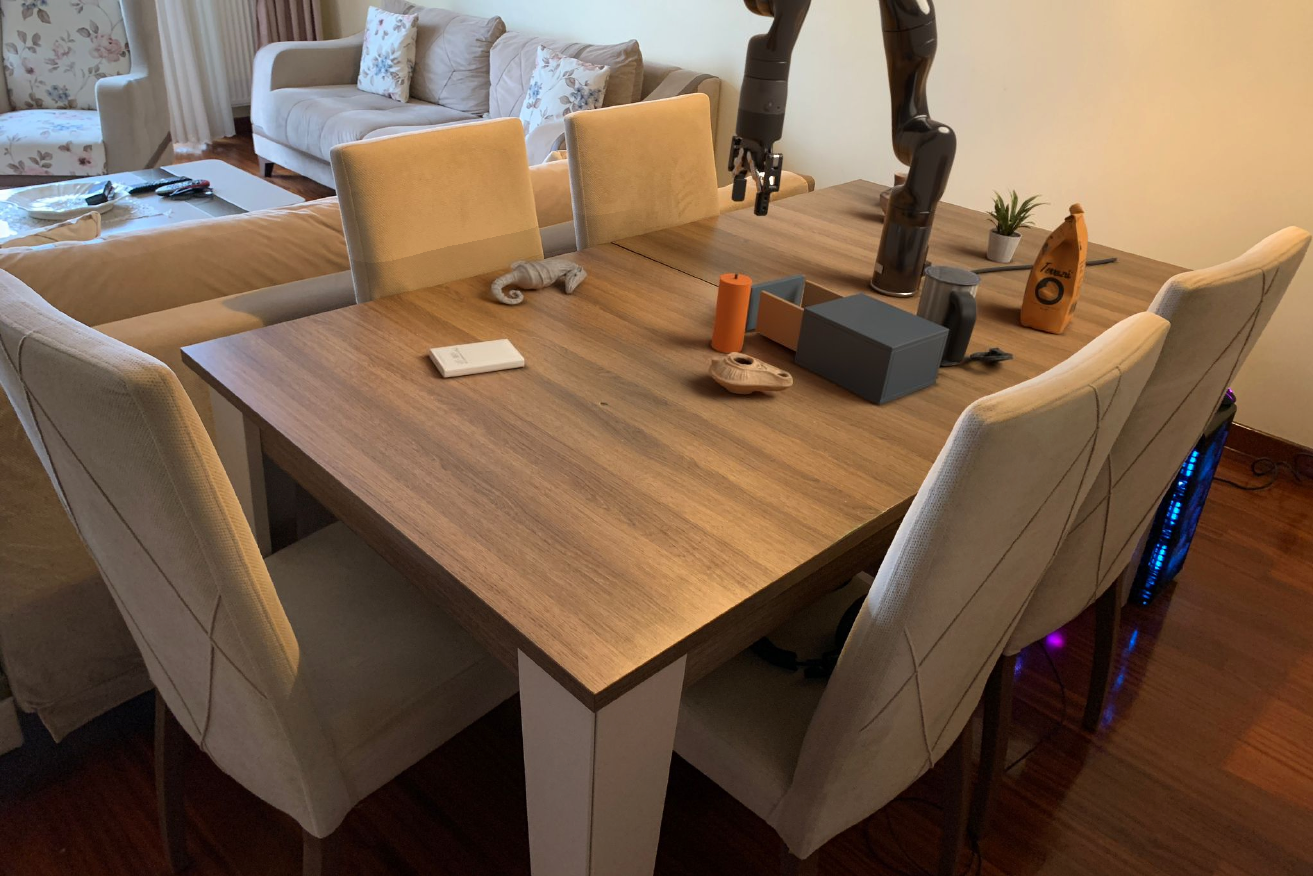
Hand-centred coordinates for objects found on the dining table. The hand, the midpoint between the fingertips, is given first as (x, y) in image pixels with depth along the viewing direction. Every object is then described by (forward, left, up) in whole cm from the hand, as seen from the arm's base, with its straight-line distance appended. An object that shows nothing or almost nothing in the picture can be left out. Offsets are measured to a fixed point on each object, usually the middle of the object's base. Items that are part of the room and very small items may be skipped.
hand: (748, 207), depth 153 cm
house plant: (-84, +3, -21) cm, 87 cm away
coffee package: (-55, +29, -21) cm, 66 cm away
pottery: (-91, -30, -21) cm, 99 cm away
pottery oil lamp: (+18, +21, -21) cm, 35 cm away
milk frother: (-23, +31, -21) cm, 44 cm away
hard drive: (+48, -8, -21) cm, 52 cm away
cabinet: (-4, +26, -21) cm, 34 cm away
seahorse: (+23, -29, -21) cm, 42 cm away
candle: (+9, +7, -21) cm, 24 cm away
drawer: (-4, +10, -20) cm, 23 cm away
